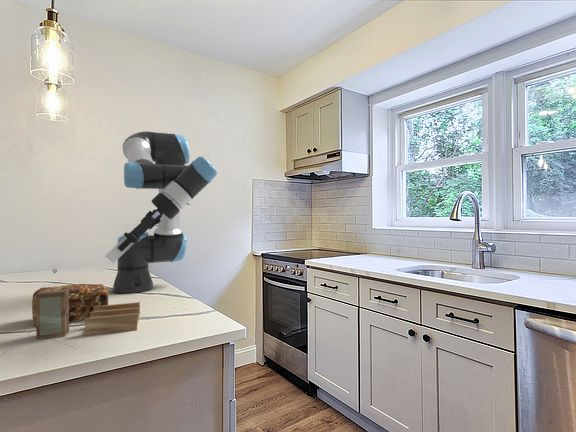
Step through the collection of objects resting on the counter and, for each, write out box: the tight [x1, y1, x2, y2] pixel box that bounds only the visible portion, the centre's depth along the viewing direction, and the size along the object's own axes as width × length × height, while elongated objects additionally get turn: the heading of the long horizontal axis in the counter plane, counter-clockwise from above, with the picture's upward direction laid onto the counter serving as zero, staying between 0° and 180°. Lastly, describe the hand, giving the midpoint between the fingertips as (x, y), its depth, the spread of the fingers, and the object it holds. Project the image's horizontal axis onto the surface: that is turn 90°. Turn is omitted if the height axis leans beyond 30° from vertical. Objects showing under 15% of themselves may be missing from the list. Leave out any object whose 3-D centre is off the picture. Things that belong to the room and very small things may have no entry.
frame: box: [35, 289, 70, 340], centre depth 87 cm, size 4×6×11 cm
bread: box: [31, 283, 109, 327], centre depth 102 cm, size 19×11×10 cm, turn 120°
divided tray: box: [84, 301, 141, 337], centre depth 95 cm, size 15×12×4 cm
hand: (112, 257), depth 91 cm, fingers open, 13 cm apart
